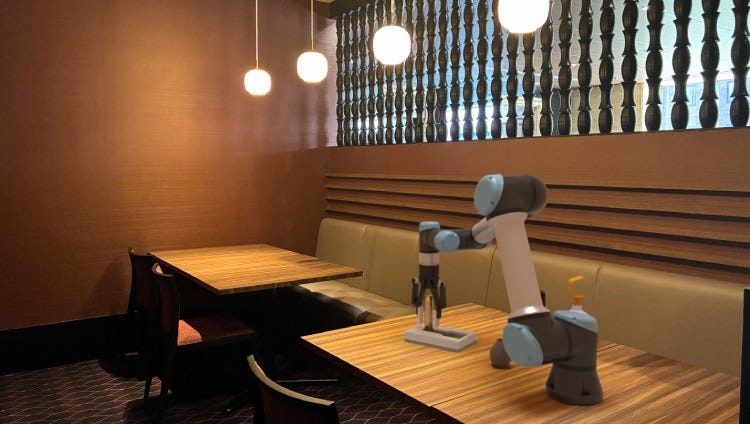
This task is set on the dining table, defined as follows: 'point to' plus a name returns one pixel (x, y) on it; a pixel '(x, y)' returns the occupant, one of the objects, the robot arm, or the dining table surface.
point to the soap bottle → (575, 296)
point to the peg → (428, 313)
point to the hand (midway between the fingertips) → (428, 325)
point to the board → (441, 338)
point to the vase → (499, 354)
